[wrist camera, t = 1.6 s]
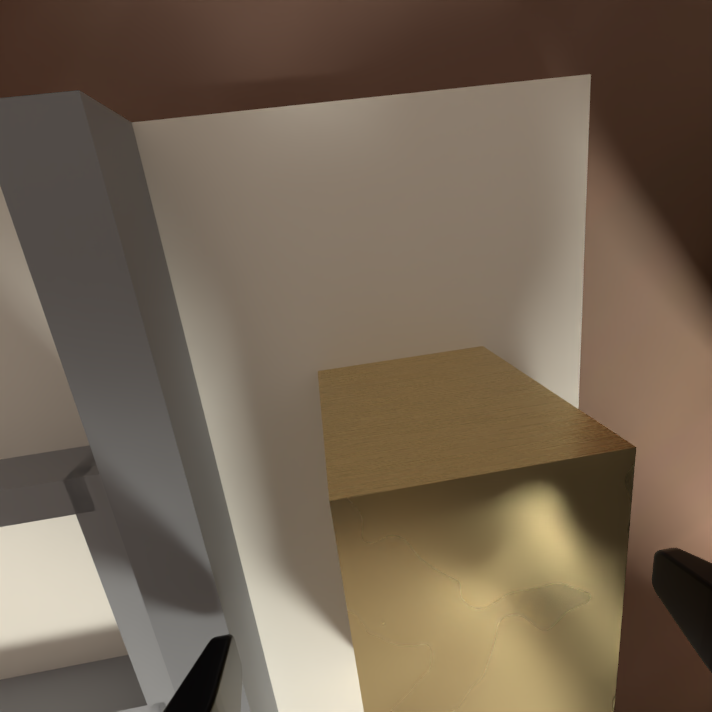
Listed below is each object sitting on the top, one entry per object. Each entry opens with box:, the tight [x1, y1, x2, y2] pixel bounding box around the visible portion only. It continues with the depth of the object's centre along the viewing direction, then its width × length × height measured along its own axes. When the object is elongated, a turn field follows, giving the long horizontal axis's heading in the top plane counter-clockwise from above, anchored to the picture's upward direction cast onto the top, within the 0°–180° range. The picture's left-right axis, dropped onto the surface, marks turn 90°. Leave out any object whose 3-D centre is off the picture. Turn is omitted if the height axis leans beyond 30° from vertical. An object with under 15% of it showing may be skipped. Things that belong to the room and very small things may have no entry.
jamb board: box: [0, 74, 591, 712], centre depth 11 cm, size 20×23×3 cm
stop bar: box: [318, 346, 636, 712], centre depth 9 cm, size 9×4×5 cm, turn 7°
